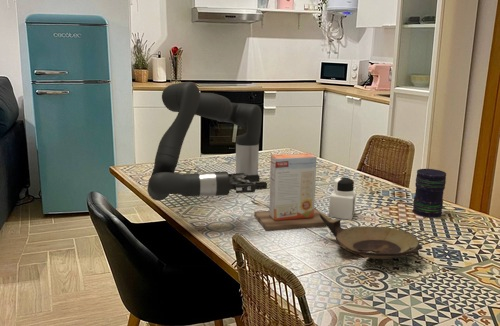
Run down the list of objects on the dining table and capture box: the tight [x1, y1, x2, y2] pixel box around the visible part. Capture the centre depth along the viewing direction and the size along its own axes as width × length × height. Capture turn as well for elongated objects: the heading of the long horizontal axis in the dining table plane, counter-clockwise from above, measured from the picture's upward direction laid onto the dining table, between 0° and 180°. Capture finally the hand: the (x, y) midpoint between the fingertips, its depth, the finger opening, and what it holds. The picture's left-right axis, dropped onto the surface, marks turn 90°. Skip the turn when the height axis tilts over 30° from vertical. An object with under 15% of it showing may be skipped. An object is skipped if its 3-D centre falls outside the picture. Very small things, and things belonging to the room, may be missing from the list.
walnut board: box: [253, 207, 327, 232], centre depth 166 cm, size 14×22×2 cm, turn 105°
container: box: [328, 176, 357, 221], centre depth 171 cm, size 8×8×13 cm
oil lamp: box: [320, 212, 424, 260], centre depth 144 cm, size 22×30×8 cm
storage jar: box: [412, 168, 447, 219], centre depth 175 cm, size 10×10×15 cm
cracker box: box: [268, 152, 318, 221], centre depth 163 cm, size 14×6×21 cm, turn 105°
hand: (262, 181), depth 160 cm, fingers open, 8 cm apart
